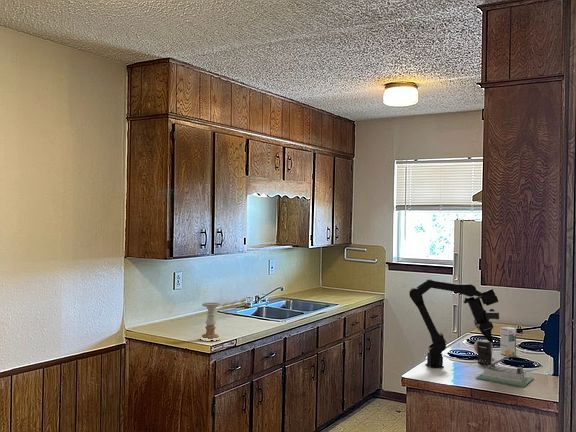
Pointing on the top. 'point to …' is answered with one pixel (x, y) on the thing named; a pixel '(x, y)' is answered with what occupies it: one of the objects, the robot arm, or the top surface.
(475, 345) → the decorative fruit
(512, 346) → the syrup box
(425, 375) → the top surface
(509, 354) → the wood block
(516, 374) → the green railed baseplate
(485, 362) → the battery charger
